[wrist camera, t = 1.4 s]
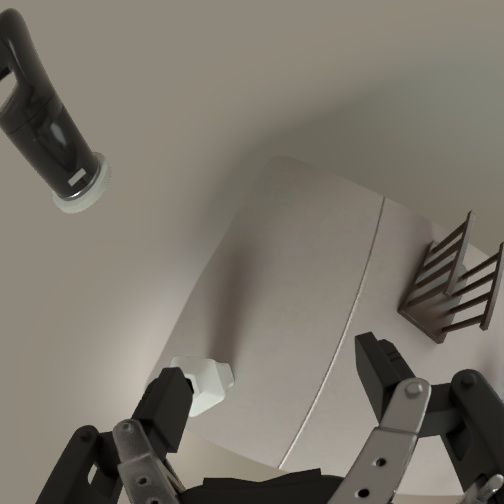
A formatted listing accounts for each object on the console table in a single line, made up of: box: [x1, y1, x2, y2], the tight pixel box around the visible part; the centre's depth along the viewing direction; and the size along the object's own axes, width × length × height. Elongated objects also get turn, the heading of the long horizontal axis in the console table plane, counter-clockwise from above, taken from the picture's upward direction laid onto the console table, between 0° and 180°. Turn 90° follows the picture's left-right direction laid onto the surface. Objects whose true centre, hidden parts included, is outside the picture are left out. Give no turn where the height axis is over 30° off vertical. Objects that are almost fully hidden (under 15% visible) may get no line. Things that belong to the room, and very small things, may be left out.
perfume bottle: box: [170, 356, 235, 417], centre depth 22 cm, size 5×4×15 cm
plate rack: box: [397, 210, 504, 344], centre depth 27 cm, size 12×8×10 cm, turn 141°
